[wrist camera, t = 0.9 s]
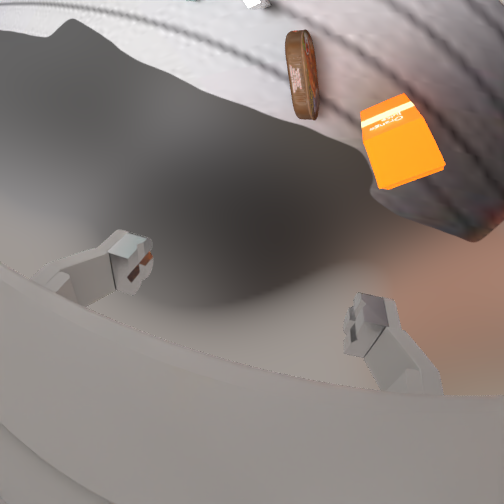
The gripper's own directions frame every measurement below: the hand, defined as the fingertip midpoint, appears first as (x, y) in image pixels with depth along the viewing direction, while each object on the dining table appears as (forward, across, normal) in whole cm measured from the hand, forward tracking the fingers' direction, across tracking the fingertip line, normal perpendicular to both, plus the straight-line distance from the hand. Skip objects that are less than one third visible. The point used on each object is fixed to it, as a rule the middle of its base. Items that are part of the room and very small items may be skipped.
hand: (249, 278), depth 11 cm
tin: (+41, +1, -10) cm, 43 cm away
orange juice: (+41, -15, -6) cm, 44 cm away
